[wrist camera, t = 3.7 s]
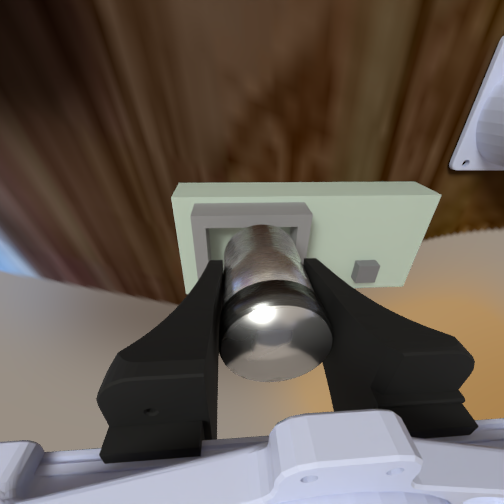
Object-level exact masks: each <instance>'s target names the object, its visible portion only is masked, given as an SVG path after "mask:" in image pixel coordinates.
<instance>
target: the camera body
mask: <svg viewBox="0 0 504 504" xmlns="http://www.w3.org/2000/svg"><path fill="white" fill-rule="evenodd" d="M440 198H441V194H439V193H437V192H435V191H433V190H431V189H429V188H427V187H425V186H423V185H421V184H419V183H417V182H255V183H179V184H178V186H177V188H176V189H175V191H174V193H173V195H172V197H171V200H172V206H173V213H174V219H175V225H176V232H177V238H178V245H179V251H180V257H181V264H182V270H183V277H184V283H185V290H186V294H189V293H190V291H191V290H192V289H193V287H194V286H195V284H196V283H197V281H198V280H199V278H200V277H201V275H202V273H203V272H204V270H205V268H206V266H207V264H208V262H209V261H210V260H223V270H224V251H225V248H226V245H227V243H228V242H229V240H230V239H231V238H232V237H233V236H234V235H235V234H236V233H237V232H239V231H240V230H242V229H244V228H247V227H249V226H253V225H262V224H263V225H271V226H275V227H278V228H280V229H282V230H283V231H285V232H286V233H287V234H288V235H289V236H290V237H291V238H292V240H293V242H294V244H295V247H296V249H297V252H298V254H299V256H300V259H301V261H302V264H303V262H304V258H316V259H318V260H319V261H320V262H321V263H323V264H324V265H325V266H326V267H327V268H329V269H330V270H331V271H332V272H333V273H335V274H336V275H337V276H338V277H339V278H341V279H342V280H343V281H345V282H346V283H347V284H349V285H350V286H351V287H353V288H372V287H401V286H403V285H404V283H405V280H406V278H407V276H408V273H409V271H410V268H411V266H412V264H413V261H414V259H415V257H416V254H417V252H418V250H419V247H420V245H421V242H422V240H423V238H424V235H425V233H426V231H427V228H428V226H429V224H430V221H431V219H432V216H433V214H434V212H435V209H436V207H437V205H438V202H439V200H440Z"/></svg>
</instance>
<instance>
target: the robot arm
mask: <svg viewBox="0 0 504 504" xmlns="http://www.w3.org/2000/svg"><path fill="white" fill-rule="evenodd" d="M465 160H466V161H465ZM464 161H465V163H464V164H463V162H464ZM462 164H463V165H462ZM449 167H450V168H451V169H453V170H504V36H503V37H502V38H501V40H500V41H499V44H498V46H497V49H496V51H495V53H494V56H493V58H492V61H491V63H490V66H489V68H488V70H487V73H486V75H485V78H484V80H483V83H482V85H481V87H480V90H479V92H478V95H477V97H476V100H475V102H474V104H473V107H472V109H471V112H470V114H469V117H468V119H467V121H466V124H465V126H464V129H463V131H462V134H461V136H460V138H459V141H458V143H457V146H456V148H455V151H454V153H453V156H452V158H451V160H450V163H449ZM303 266H304V269H305V271H306V273H307V276H308V278H309V281H310V283H311V286H312V288H313V290H314V293H315V294H316V295H317V296H318V297H319V299H320V301H321V303H322V305H323V308H324V310H325V312H326V315H327V317H328V319H329V322H330V324H331V327H332V329H333V341H332V347H331V350H330V352H329V354H328V355H327V357H326V358H325V359H324V361H323V366H324V369H325V374H326V378H327V382H328V386H329V390H330V395H331V399H332V404H333V409H334V412H322V413H306V414H300V415H295V416H291V417H288V418H286V419H284V420H282V421H280V422H278V423H277V424H276V425H275V427H274V428H273V430H272V432H271V433H270V435H269V436H258V437H245V438H231V439H217V396H218V356H219V348H218V345H219V321H220V314H221V311H222V304H223V260H210V261H209V262H208V264H207V266H206V268H205V270H204V272H203V273H202V275H201V277H200V278H199V280H198V281H197V283H196V284H195V286H194V287H193V289H192V290H191V291H190V293H189V294H188V295H187V296H186V298H185V299H184V300H183V301H182V302H181V303H180V305H179V306H178V307H177V308H176V309H175V310H174V311H173V312H172V313H171V314H170V315H169V316H168V317H167V318H166V319H165V320H164V321H162V322H161V323H160V324H159V325H158V326H156V327H155V328H154V329H153V330H151V331H150V332H149V333H147V334H146V335H145V336H143V337H142V338H141V339H139V340H137V341H136V342H135V343H133V344H131V345H130V346H128V347H127V348H125V349H123V350H122V351H120V352H119V353H117V355H116V357H115V359H114V360H113V362H112V364H111V366H110V367H109V369H108V371H107V373H106V376H105V378H104V380H103V383H102V385H101V387H100V389H99V392H98V395H97V403H98V406H99V408H100V410H101V412H102V414H103V415H104V417H105V419H106V421H107V423H108V425H109V428H108V431H107V434H106V437H105V440H104V442H103V445H102V448H95V449H82V450H68V451H55V452H44V450H43V448H42V447H41V445H40V444H38V443H36V442H34V441H28V440H27V441H26V440H22V441H7V442H0V504H504V418H500V419H487V420H474V419H473V418H472V416H471V415H470V414H469V412H468V411H467V410H466V408H465V407H464V406H463V404H462V403H464V402H465V398H464V396H463V395H462V394H461V393H460V391H459V390H458V389H459V388H460V387H461V386H462V384H463V383H464V382H465V380H466V379H467V378H468V377H469V376H470V374H471V372H472V371H473V369H474V363H475V361H474V359H473V357H472V355H471V354H470V353H469V352H468V351H467V350H466V349H465V348H464V347H463V345H462V344H461V343H460V342H459V341H458V340H457V339H456V338H455V337H453V336H451V335H448V334H445V333H443V332H440V331H437V330H434V329H431V328H428V327H426V326H423V325H421V324H419V323H416V322H413V321H411V320H409V319H407V318H405V317H403V316H400V315H398V314H396V313H394V312H392V311H390V310H388V309H386V308H384V307H383V306H381V305H379V304H377V303H375V302H374V301H372V300H371V299H369V298H367V297H366V296H364V295H363V294H361V293H360V292H358V291H357V290H355V289H354V288H353V287H351V286H350V285H349V284H347V283H346V282H345V281H343V280H342V279H341V278H339V277H338V276H337V275H336V274H335V273H333V272H332V271H331V270H330V269H329V268H327V267H326V266H325V265H324V264H323V263H321V262H320V261H319V260H318V259H316V258H304V262H303Z"/></svg>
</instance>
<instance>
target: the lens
mask: <svg viewBox="0 0 504 504" xmlns="http://www.w3.org/2000/svg"><path fill="white" fill-rule="evenodd" d="M332 341H333V329H332V327H331V324H330V322H329V319H328V317H327V315H326V312H325V310H324V308H323V305H322V303H321V301H320V299H319V297H318V296H317V295H316V294H315V293H314V290H313V288H312V286H311V283H310V281H309V278H308V276H307V273H306V271H305V269H304V266H303V264H302V261H301V259H300V256H299V254H298V252H297V249H296V247H295V244H294V242H293V240H292V238H291V237H290V236H289V235H288V234H287V233H286V232H285V231H283V230H282V229H280V228H278V227H275V226H271V225H263V224H262V225H253V226H249V227H247V228H244V229H242V230H240V231H239V232H237V233H236V234H235V235H234V236H233V237H232V238H231V239H230V240H229V242H228V243H227V245H226V248H225V251H224V270H223V304H222V311H221V314H220V321H219V345H218V348H219V353H220V356H221V358H222V360H223V362H224V363H225V365H226V366H227V367H228V368H229V369H230V370H231V371H232V372H233V373H235V374H237V375H239V376H241V377H243V378H246V379H249V380H254V381H260V382H274V381H275V382H276V381H284V380H288V379H292V378H296V377H298V376H301V375H303V374H305V373H308V372H309V371H311V370H313V369H314V368H315V367H317V366H318V365H319V364H321V363H322V362H323V361H324V359H325V358H326V357H327V355H328V354H329V352H330V350H331V347H332Z"/></svg>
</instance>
